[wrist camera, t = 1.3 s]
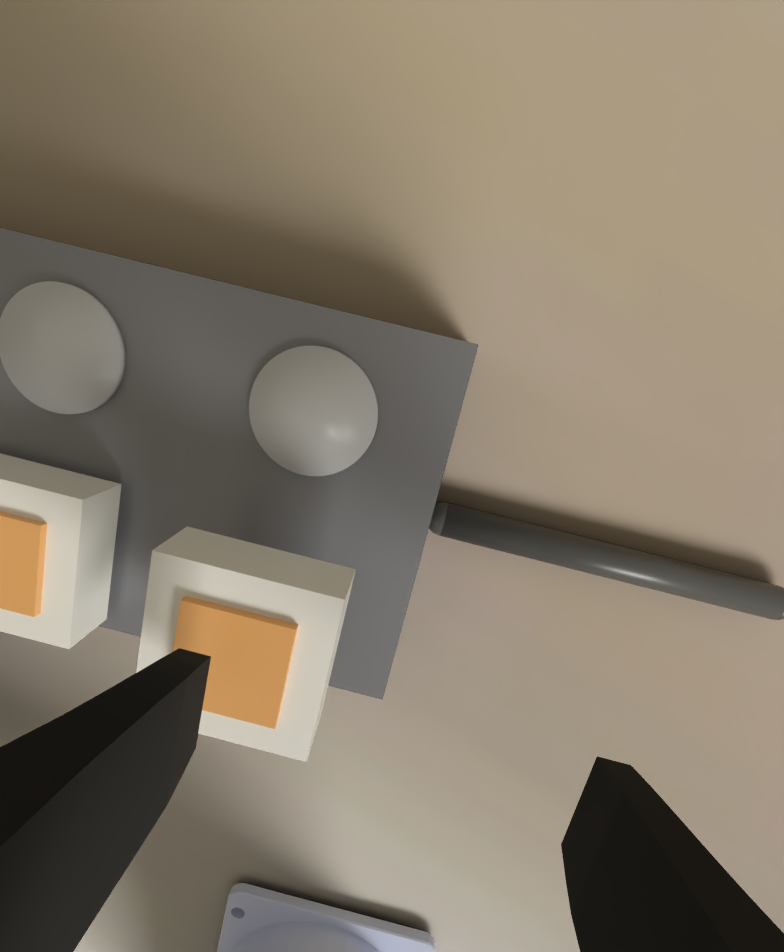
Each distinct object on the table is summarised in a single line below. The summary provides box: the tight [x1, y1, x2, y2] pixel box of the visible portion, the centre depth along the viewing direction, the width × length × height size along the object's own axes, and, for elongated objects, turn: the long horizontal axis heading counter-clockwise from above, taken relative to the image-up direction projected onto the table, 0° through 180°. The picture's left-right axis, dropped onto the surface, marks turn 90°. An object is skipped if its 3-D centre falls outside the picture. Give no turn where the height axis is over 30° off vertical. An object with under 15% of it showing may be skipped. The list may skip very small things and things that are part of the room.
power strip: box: [0, 228, 784, 699], centre depth 14 cm, size 10×31×3 cm, turn 77°
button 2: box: [0, 453, 122, 649], centre depth 13 cm, size 4×4×2 cm
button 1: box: [136, 526, 356, 762], centre depth 11 cm, size 4×4×2 cm
